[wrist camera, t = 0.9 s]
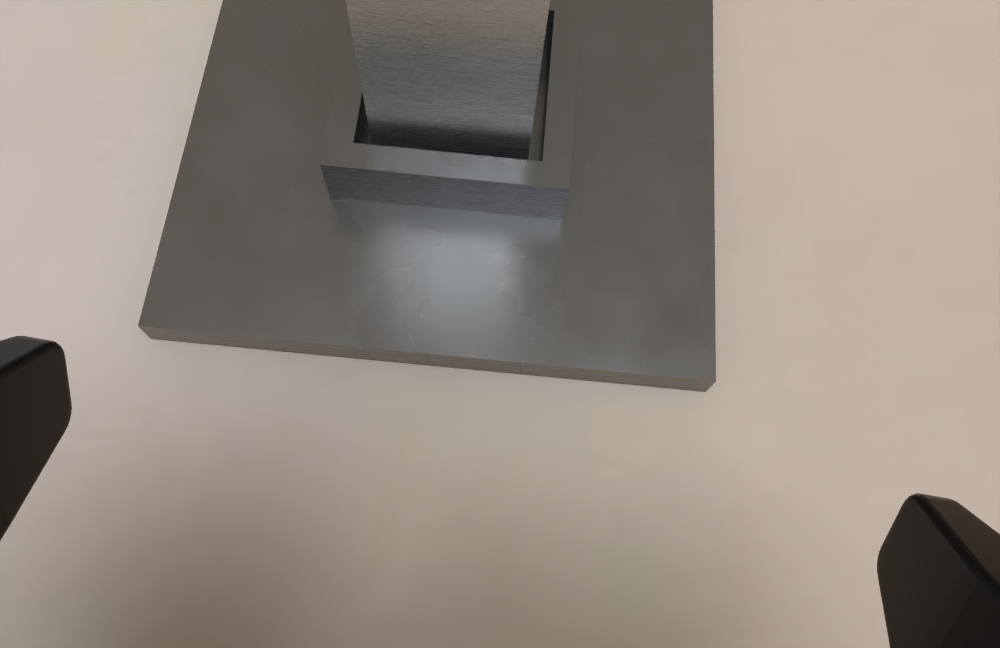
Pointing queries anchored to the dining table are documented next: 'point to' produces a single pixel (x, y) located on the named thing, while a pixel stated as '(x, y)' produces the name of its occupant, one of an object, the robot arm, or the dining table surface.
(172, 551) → the dining table surface
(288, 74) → the grey square stand
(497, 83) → the jack column
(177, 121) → the dining table surface
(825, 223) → the dining table surface
